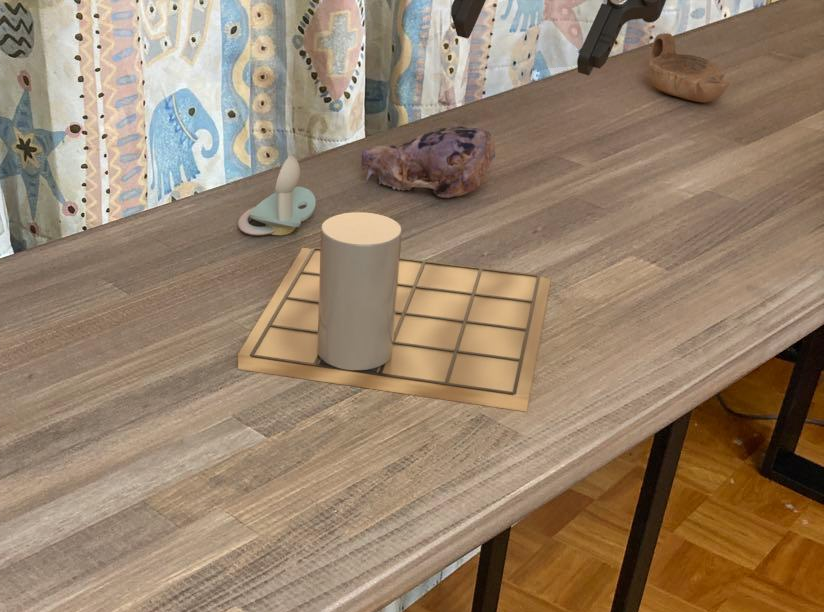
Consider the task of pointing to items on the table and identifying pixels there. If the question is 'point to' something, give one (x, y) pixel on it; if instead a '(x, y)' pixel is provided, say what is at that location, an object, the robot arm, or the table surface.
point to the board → (418, 333)
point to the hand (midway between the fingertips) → (520, 50)
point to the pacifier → (281, 205)
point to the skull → (434, 161)
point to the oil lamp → (684, 72)
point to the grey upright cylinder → (358, 290)
